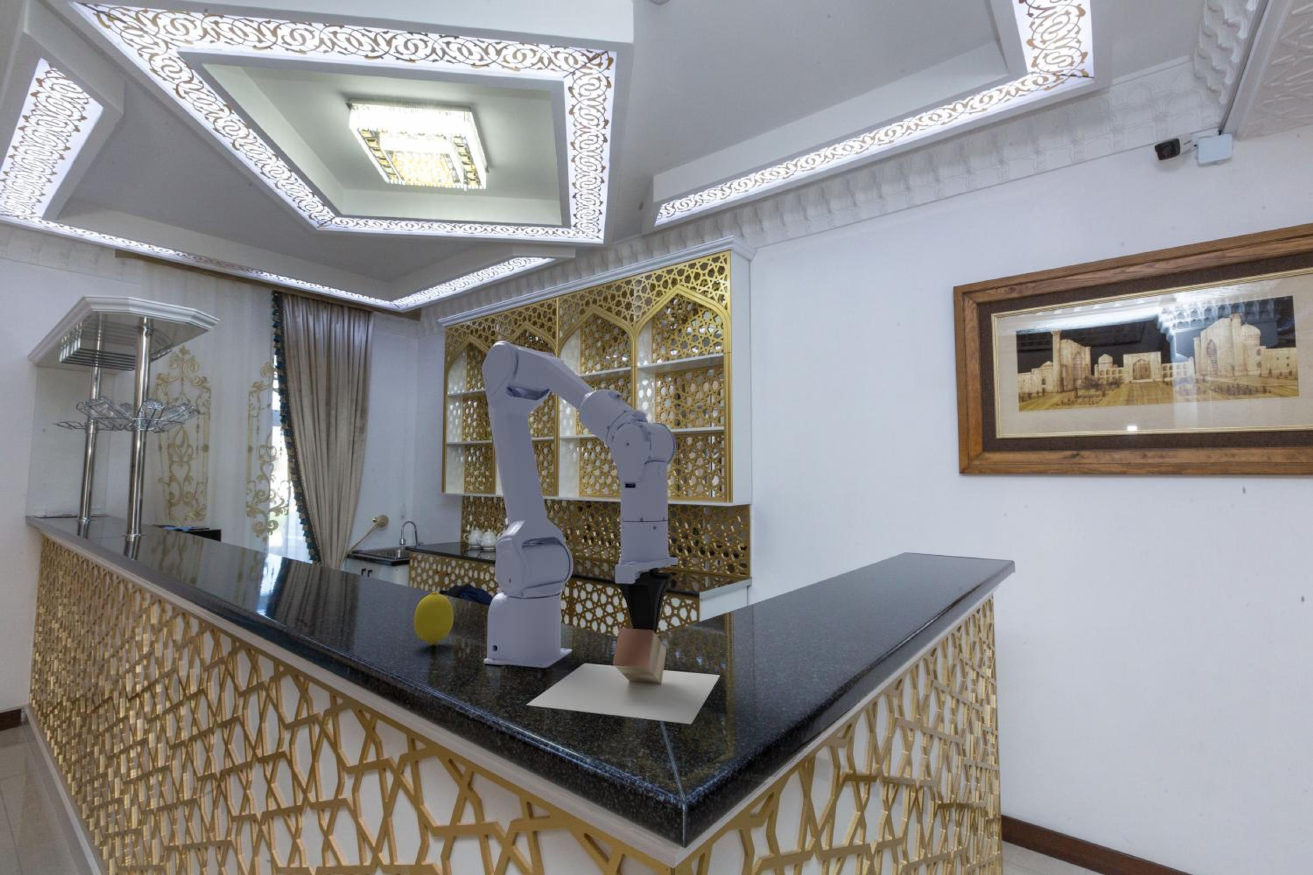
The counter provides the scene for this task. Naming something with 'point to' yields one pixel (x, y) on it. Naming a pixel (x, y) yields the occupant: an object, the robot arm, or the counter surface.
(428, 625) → the lemon
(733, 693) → the counter surface
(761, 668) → the counter surface
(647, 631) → the maple block
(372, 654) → the counter surface
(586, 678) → the grey mat
